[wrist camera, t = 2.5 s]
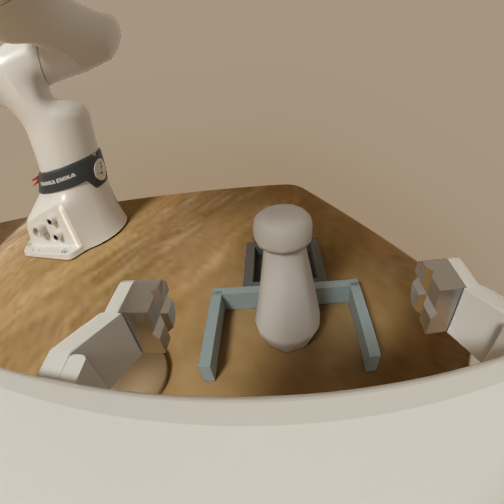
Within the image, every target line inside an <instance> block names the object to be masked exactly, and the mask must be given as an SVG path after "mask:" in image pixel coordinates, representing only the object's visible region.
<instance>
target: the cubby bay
mask: <svg viewBox="0 0 504 504" xmlns="http://www.w3.org/2000/svg"><path fill="white" fill-rule="evenodd" d="M314 286H315V291H316V295H317V300H318V304H327V303H339V302H348V303H349V306H350V310H351V314H352V318H353V322H354V325H355V329H356V333H357V337H358V341H359V345H360V350H361V354H362V358H363V362H364V367H365V371H366V372H368V371H375V370H377V367H378V364H379V361H380V358H381V352H380V349H379V345H378V342H377V338H376V335H375V332H374V328H373V325H372V322H371V319H370V316H369V312H368V309H367V306H366V303H365V300H364V297H363V294H362V291H361V288H360V285H359V282H358V279H348V280H336V281H323V282H314ZM259 289H260V286H247V287H229V288H213V292H212V297H211V302H210V307H209V312H208V317H207V322H206V327H205V333H204V338H203V343H202V348H201V354H200V359H199V365H198V368H199V370H200V373H201V375H202V377H203V380H204V381H215V378H216V371H217V364H218V356H219V349H220V342H221V334H222V327H223V320H224V313H225V310H229V309H251V308H257V305H258V297H259Z"/></svg>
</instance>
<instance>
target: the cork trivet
mask: <svg viewBox="0 0 504 504" xmlns="http://www.w3.org/2000/svg"><path fill="white" fill-rule="evenodd" d="M167 377H168V365H167V361H166V358H165V356H164V353H143V354H142V355H141V356H140V357H139V358H138V360H137V361H136V362H135V363H134V364H133V365H132V366H131V367H130V368H129V369H128V370H127V371H126V372H125V373H124V375H123V376H122V377H121V378H120V379H119V380H118V381H117V382H116V383H115V384H114V385H113V386H112V387H111V388H110V389H114V390H122V391H131V392H141V393H152V394H161V393H162V391H163V389H164V387H165V384H166V381H167Z"/></svg>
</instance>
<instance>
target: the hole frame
mask: <svg viewBox="0 0 504 504" xmlns="http://www.w3.org/2000/svg"><path fill="white" fill-rule="evenodd" d="M306 249H307V253H308V258H309V262H310V267H311V272H312V276H313V281H314V282H323V281H328V280H327V275H326V271H325V267H324V263H323V259H322V254H321V250H320V246H319V242H318V238H312V239H311V242H310V243H309V244H308V245H307V246H306ZM262 259H263V250H262V249H260V248H259V246H258V244H257V243H256V242H248V243H247V249H246V260H245V271H244V282H243V287H247V286H260V280H261V270H262Z"/></svg>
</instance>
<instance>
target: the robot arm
mask: <svg viewBox="0 0 504 504" xmlns="http://www.w3.org/2000/svg"><path fill="white" fill-rule="evenodd" d="M120 37H121V33H120V28H119V24H118V22H117V20H116V19H115V18H114V16H112V14H110V13H109V12H107V11H105V10H101V9H94V8H89V7H86V6H84V5H81V4H79V3H77V2H75V1H74V0H0V42H2V43H5V44H3V45H2V46H0V106H2V107H4V108H6V109H8V110H9V111H11V112H12V113H13V114H14V115H15V116H16V117H17V118H18V119H19V120H20V122H21V123H22V124H23V126H24V128H25V129H26V132H27V134H28V136H29V139H30V142H31V144H32V147H33V150H34V153H35V156H36V159H37V162H38V165H39V169H40V172H39V175H38V176H37V177H36V178H34V179H33V180H32V181H34V180H36V182H35V183H34V184H33V186H34V185H36V184H37V183H39V193H40V194H39V196H38V198H37V200H36V202H35V204H34V206H33V208H32V210H31V212H30V214H29V216H28V219H27V229H28V233H29V236H30V238H31V239H30V241H29V242H28V244H27V245H26V247H25V250H24V252H25V255H26V256H33V257H43V258H53V259H63V260H70V259H73V258H75V257H76V256H78V255H79V254H81V253H82V252H84V251H85V250H87V249H89V248H92V247H94V246H96V245H99V244H101V243H102V242H104V241H106V240H108V239H109V238H111V237H112V236H114V235H115V234H116V233H118V232H119V231H120V230H121V229H122V228H123V226H124V225H125V224H126V221H127V215H126V214H125V213H124V211H123V210H122V208H121V207H120V205H119V203H118V201H117V200H116V198H115V196H114V194H113V191H112V189H111V187H110V184H109V182H108V179H107V171H106V167H105V163H104V159H103V156H102V153H101V149H100V148H98V147H97V143H96V139H95V135H94V131H93V127H92V122H91V118H90V113H89V111H88V109H87V108H86V107H85V106H84V105H83V104H81V103H79V102H76V101H71V100H63V99H55V98H54V97H53V96H52V94H51V92H50V90H49V86H50V85H51V84H53V83H56V82H59V81H61V80H64V79H67V78H69V77H72V76H75V75H78V74H81V73H84V72H87V71H89V70H90V69H93V68H95V67H97V66H99V65H101V64H103V63H104V62H107V61H109V60H111V59H112V57H113V56H114V54H115V53H116V51H117V49H118V46H119V43H120ZM415 273H416V275H417V276H418V277H417V278H416V279H415V280H414V281H413V282H412V287H411V301H412V305H413V307H414V310H415V311H417V312H418V313H420V314H421V315H420V318H419V321H420V323H421V325H422V327H423V330H424V332H425V334H431V333H438V332H444V331H447V333H449V334H450V335H451V336H452V337H453V338H454V339H455V340H457V341H458V342H459V343H460V344H461V345H462V346H463V347H464V348H466V349H467V350H468V351H469V352H470V353H471V354H472V355H473V356H475V358H477V359H478V360H479V361H480V362H481V363H479V364H476V365H472V366H468V367H464V368H460V369H456V370H452V371H448V372H444V373H440V374H436V375H431V376H427V377H422V378H417V379H412V380H407V381H401V382H396V383H390V384H384V385H378V386H371V387H365V388H357V389H350V390H341V391H332V392H322V393H311V394H297V395H281V396H253V397H209V396H182V395H165V394H152V393H141V392H131V391H122V390H114V389H110V388H111V387H112V386H113V385H114V384H115V383H116V382H117V381H118V380H119V379H120V378H121V377H122V376H123V375H124V373H125V372H126V371H127V370H128V369H129V368H130V367H131V366H132V365H133V364H134V363H135V362H136V361H137V360H138V358H139V357H140V356H141V355H142V354H143V353H166V351H167V347H168V344H169V341H170V335H169V333H168V332H169V331H170V330H171V329H172V328H173V327H174V323H175V306H174V303H173V300H172V299H171V298H170V297H168V296H167V293H168V290H169V289H168V286H167V284H166V281H164V280H136V281H135V280H131V281H122V282H120V284H119V286H118V287H117V289H116V291H115V293H114V295H113V297H112V299H111V300H110V302H109V304H108V306H107V308H106V310H105V312H104V313H100V314H98V315H97V316H95V317H94V318H93V319H91V320H90V321H89V322H87V323H86V324H84V325H83V326H82V327H80V328H79V329H78V330H76V331H75V332H74V333H72V334H71V335H70V336H68V337H67V338H66V339H64V340H63V341H62V342H60V343H59V344H58V345H56V346H55V347H54V348H52V349H51V350H50V352H49V354H48V355H47V357H46V359H45V361H44V363H43V365H42V367H41V369H40V371H39V373H38V375H37V376H34V375H30V374H26V373H21V372H17V371H13V370H10V369H6V368H2V367H0V504H504V297H502V296H501V295H499V294H497V293H496V292H494V291H492V290H490V289H489V288H487V287H485V286H483V285H482V286H480V285H479V284H478V283H477V281H476V280H475V278H474V277H473V276H472V274H471V273H470V271H469V270H468V269H467V267H466V266H465V265H464V263H463V262H462V261H461V259H460V258H458V257H449V258H444V259H436V260H426V261H419V262H418V263H417V265H416V269H415Z"/></svg>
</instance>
